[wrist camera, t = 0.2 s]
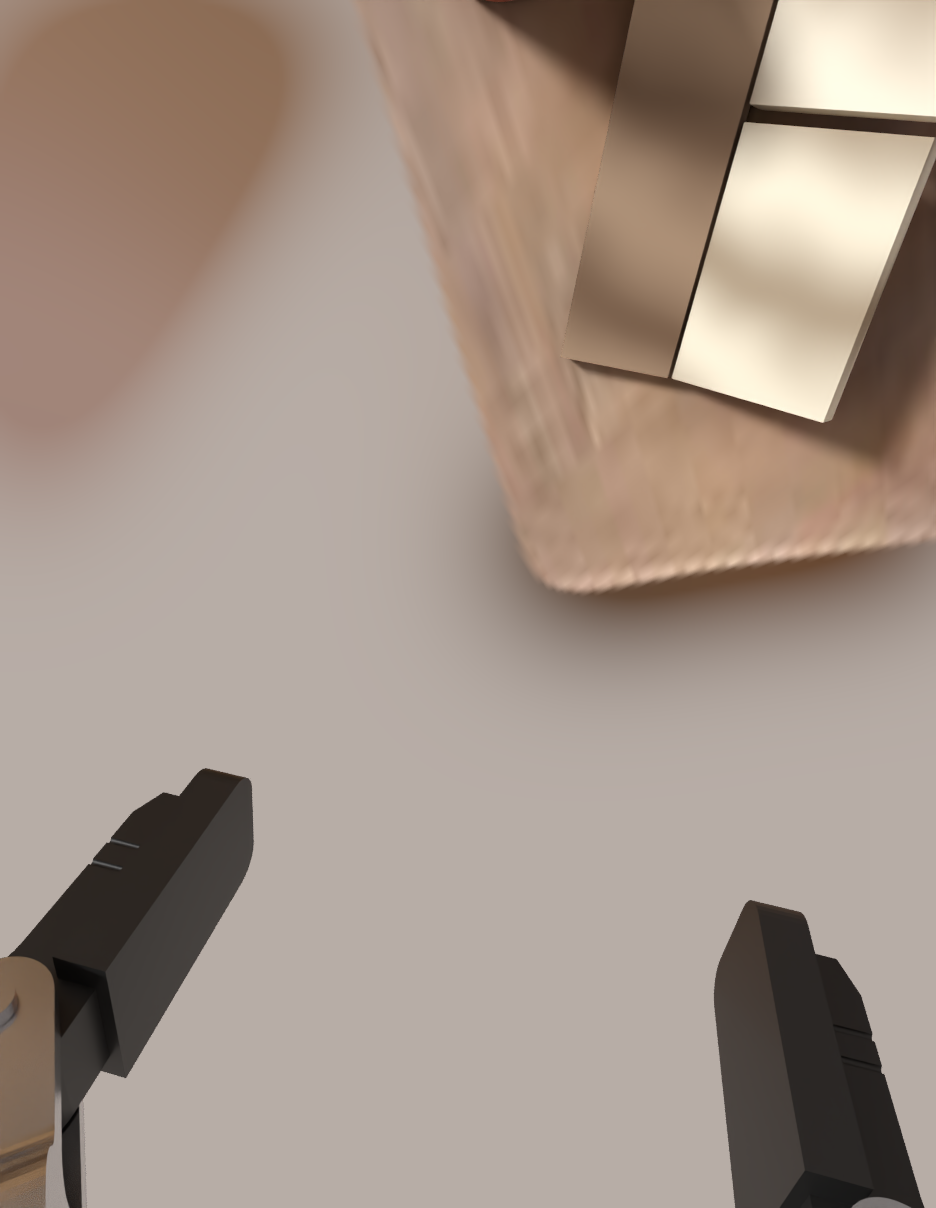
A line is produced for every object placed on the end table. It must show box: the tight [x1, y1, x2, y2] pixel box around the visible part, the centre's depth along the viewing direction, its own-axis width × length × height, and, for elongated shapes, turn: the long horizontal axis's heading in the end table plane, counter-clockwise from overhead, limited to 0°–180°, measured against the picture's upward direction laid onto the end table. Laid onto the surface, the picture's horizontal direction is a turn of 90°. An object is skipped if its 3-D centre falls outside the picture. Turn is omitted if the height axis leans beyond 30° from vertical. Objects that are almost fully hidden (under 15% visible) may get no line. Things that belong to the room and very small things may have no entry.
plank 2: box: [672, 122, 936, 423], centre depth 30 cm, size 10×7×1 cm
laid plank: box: [561, 0, 779, 378], centre depth 29 cm, size 21×5×1 cm, turn 171°
